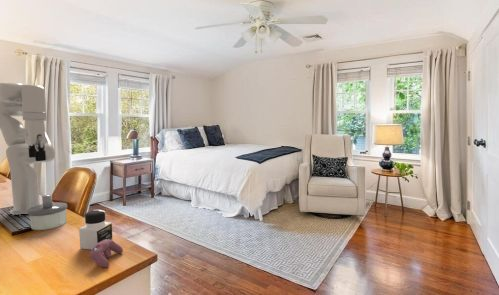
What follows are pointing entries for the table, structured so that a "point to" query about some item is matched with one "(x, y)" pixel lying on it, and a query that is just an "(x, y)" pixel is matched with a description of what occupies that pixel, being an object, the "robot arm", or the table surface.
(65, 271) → the table surface
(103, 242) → the video game controller
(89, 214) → the medicine bottle
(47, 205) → the lid
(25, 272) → the table surface
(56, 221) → the bowl
